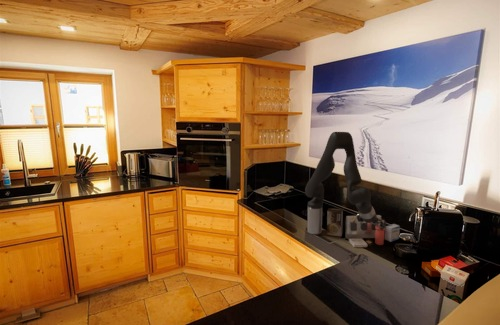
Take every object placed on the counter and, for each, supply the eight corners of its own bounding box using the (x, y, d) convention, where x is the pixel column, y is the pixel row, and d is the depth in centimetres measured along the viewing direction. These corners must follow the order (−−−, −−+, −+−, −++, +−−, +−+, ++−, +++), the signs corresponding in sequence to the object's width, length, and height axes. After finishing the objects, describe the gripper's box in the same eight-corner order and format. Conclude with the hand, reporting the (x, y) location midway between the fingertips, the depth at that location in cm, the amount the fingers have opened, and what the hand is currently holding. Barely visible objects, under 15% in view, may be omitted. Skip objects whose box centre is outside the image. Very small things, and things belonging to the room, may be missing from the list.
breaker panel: (345, 237, 166) (346, 216, 163) (378, 236, 166) (379, 215, 164) (347, 240, 162) (348, 218, 159) (381, 239, 162) (383, 217, 160)
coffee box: (342, 232, 172) (343, 209, 169) (341, 236, 166) (342, 212, 164) (327, 230, 176) (328, 207, 173) (326, 234, 170) (327, 210, 168)
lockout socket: (348, 241, 160) (349, 238, 160) (361, 240, 160) (361, 238, 160) (354, 247, 153) (354, 244, 152) (367, 247, 153) (367, 244, 152)
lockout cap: (372, 241, 160) (373, 225, 158) (381, 241, 160) (382, 225, 158) (376, 245, 154) (378, 229, 153) (385, 245, 155) (386, 229, 153)
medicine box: (390, 242, 158) (391, 228, 156) (384, 239, 162) (385, 226, 160) (399, 239, 161) (400, 225, 160) (392, 236, 165) (393, 223, 164)
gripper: (383, 209, 134) (389, 223, 144) (355, 203, 144) (363, 217, 154) (379, 222, 131) (385, 236, 141) (351, 215, 141) (358, 228, 151)
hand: (373, 226), depth 147 cm, fingers open, 8 cm apart
